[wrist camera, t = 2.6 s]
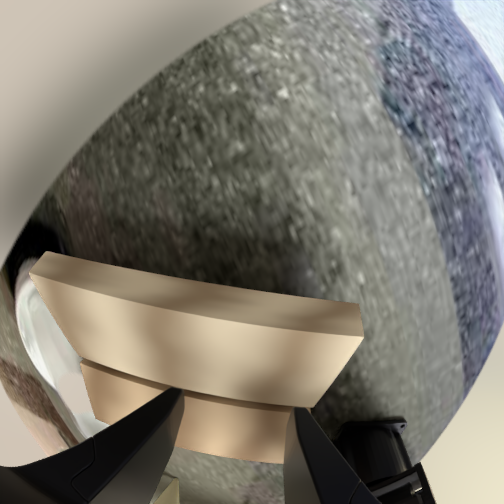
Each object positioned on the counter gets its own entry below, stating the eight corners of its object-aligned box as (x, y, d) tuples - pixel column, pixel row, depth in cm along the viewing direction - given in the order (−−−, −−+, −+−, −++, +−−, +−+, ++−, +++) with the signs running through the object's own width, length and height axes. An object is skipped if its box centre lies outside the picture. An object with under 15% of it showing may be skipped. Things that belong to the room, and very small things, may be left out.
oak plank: (358, 303, 13) (364, 336, 11) (313, 383, 19) (313, 407, 17) (46, 251, 14) (28, 272, 12) (88, 336, 19) (79, 355, 18)
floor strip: (310, 391, 19) (312, 409, 17) (289, 447, 21) (289, 463, 19) (91, 346, 20) (78, 358, 18) (104, 406, 22) (95, 418, 20)
